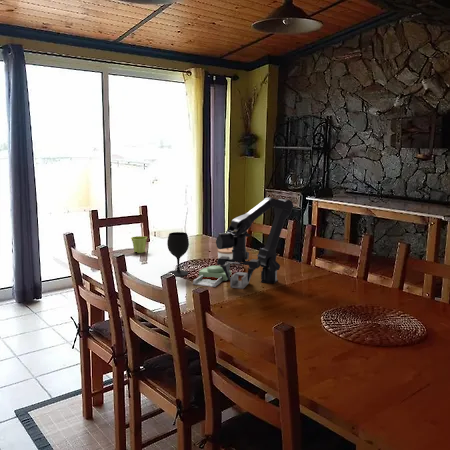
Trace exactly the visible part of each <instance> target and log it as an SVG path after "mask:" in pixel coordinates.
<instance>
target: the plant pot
mask: <svg viewBox="0 0 450 450" xmlns="http://www.w3.org/2000/svg"><path fill="white" fill-rule="evenodd" d="M130 239H131V242H132V246H133V252H134V253H135V252H137V254H143V253H146V245H147V239H148V236H143V235H139V236H138V235H137V236H132V237H130Z"/></svg>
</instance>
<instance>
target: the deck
mask: <svg viewBox="0 0 450 450" xmlns="http://www.w3.org/2000/svg"><path fill="white" fill-rule="evenodd" d="M230 275H231V276H232V270H230ZM203 277H215V278H218V279H217V280H211V279H202V278H203ZM223 281H224V282H225V281H229V280H228V278H227V276H226V274H225V272H224V270H223V268H222V267H220V265H209V266H207V267H204V268H201V269H200V270H199V271H198V277H196V278H194V279H193V280H192V285H195V286H196V285H197V286H202V287H203V286H204V287H212V288H217V286H218V285H220V284H221V283H222V282H223Z"/></svg>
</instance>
